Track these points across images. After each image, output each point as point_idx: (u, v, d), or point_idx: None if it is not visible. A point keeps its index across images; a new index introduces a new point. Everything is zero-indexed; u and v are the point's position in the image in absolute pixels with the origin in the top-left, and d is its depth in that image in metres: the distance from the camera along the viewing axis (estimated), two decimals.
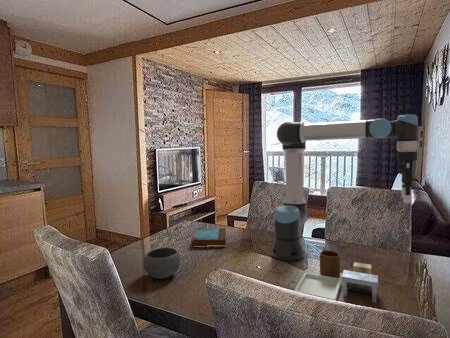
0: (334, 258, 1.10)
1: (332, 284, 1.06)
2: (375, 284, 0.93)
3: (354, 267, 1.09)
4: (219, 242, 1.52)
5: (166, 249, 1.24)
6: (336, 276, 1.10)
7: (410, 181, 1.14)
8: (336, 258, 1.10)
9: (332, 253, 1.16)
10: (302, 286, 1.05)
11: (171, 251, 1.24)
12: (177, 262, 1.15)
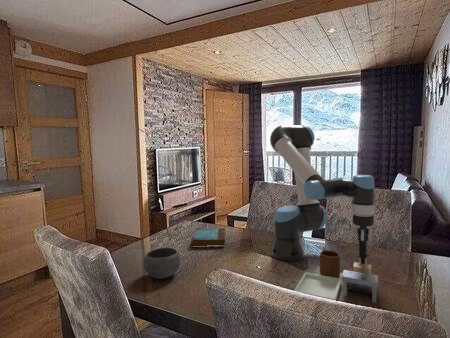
0: (334, 258, 1.10)
1: (332, 284, 1.06)
2: (375, 284, 0.93)
3: (354, 268, 1.09)
4: (218, 242, 1.52)
5: (166, 249, 1.24)
6: (336, 276, 1.10)
7: (364, 254, 1.09)
8: (336, 258, 1.10)
9: (332, 253, 1.16)
10: (302, 286, 1.05)
11: (171, 251, 1.24)
12: (177, 262, 1.15)
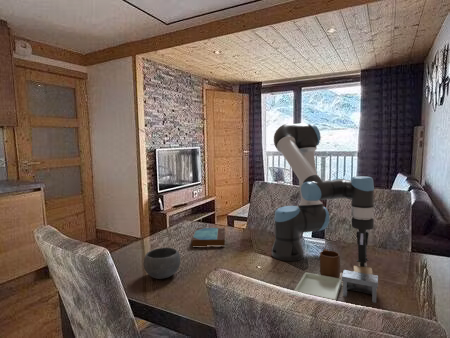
0: (334, 258, 1.10)
1: (332, 284, 1.06)
2: (375, 284, 0.93)
3: None
4: (218, 242, 1.52)
5: (166, 249, 1.24)
6: (336, 276, 1.10)
7: (364, 259, 1.04)
8: (336, 258, 1.10)
9: (332, 253, 1.16)
10: (302, 286, 1.05)
11: (171, 251, 1.24)
12: (177, 262, 1.15)
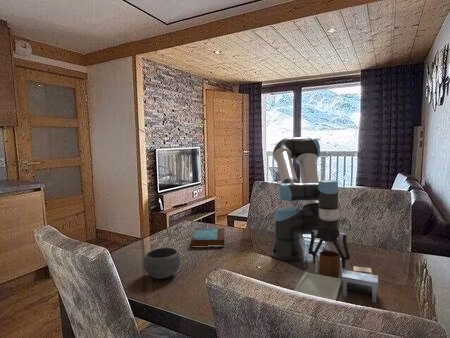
0: (334, 258, 1.10)
1: (332, 284, 1.06)
2: (375, 284, 0.93)
3: None
4: (218, 242, 1.52)
5: (166, 249, 1.24)
6: (336, 276, 1.10)
7: None
8: (336, 258, 1.10)
9: (332, 253, 1.16)
10: (302, 286, 1.05)
11: (171, 251, 1.24)
12: (177, 262, 1.15)
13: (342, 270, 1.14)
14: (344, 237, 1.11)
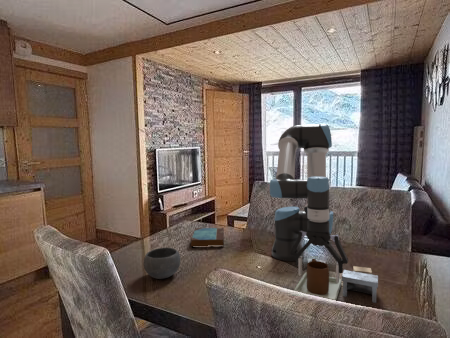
0: (322, 270, 0.97)
1: (332, 284, 1.06)
2: (375, 284, 0.93)
3: None
4: (217, 242, 1.52)
5: (166, 249, 1.24)
6: (324, 290, 0.98)
7: (292, 249, 1.06)
8: (324, 270, 0.98)
9: (321, 264, 1.04)
10: (302, 286, 1.05)
11: (171, 251, 1.24)
12: (177, 262, 1.15)
13: None
14: (336, 239, 0.98)
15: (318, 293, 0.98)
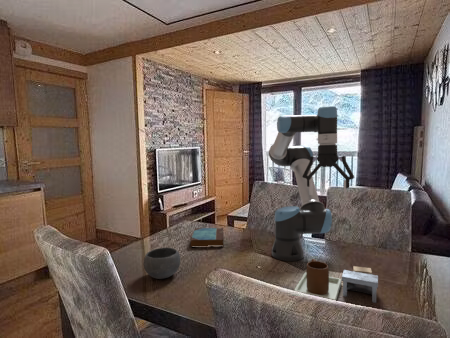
0: (322, 270, 0.97)
1: (332, 284, 1.06)
2: (375, 284, 0.93)
3: None
4: (217, 242, 1.52)
5: (166, 249, 1.24)
6: (324, 291, 0.98)
7: None
8: (324, 270, 0.98)
9: (320, 264, 1.04)
10: (302, 286, 1.05)
11: (171, 251, 1.24)
12: (177, 262, 1.15)
13: (346, 191, 1.16)
14: (343, 158, 1.14)
15: (318, 293, 0.98)
